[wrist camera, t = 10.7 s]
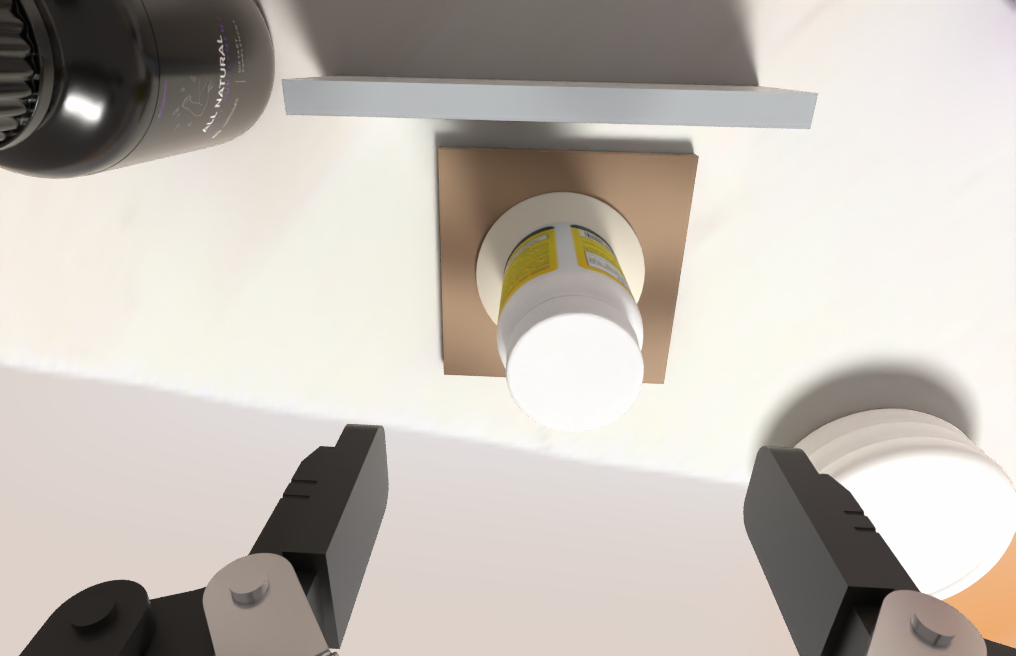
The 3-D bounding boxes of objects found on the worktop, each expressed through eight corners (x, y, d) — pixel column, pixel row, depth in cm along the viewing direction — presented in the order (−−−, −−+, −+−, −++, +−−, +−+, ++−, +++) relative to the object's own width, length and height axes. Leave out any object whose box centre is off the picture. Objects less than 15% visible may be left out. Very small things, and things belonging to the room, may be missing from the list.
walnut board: (440, 146, 23) (437, 149, 22) (694, 154, 23) (699, 157, 22) (445, 368, 27) (443, 376, 27) (661, 377, 27) (664, 385, 26)
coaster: (800, 389, 27) (835, 433, 24) (1010, 418, 27) (1072, 465, 24) (737, 548, 31) (760, 603, 28) (919, 572, 32) (962, 630, 28)
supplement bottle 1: (309, 120, 23) (101, 174, 12) (155, 161, 24) (-164, 246, 13) (234, -83, 20) (-119, -249, 9) (65, -27, 21) (-432, -118, 10)
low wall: (334, 75, 22) (281, 79, 18) (759, 86, 22) (817, 93, 17) (336, 103, 23) (286, 114, 18) (754, 114, 22) (809, 129, 18)
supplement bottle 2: (504, 326, 25) (490, 441, 18) (503, 219, 23) (487, 297, 16) (615, 327, 25) (650, 444, 18) (623, 219, 23) (666, 299, 16)
